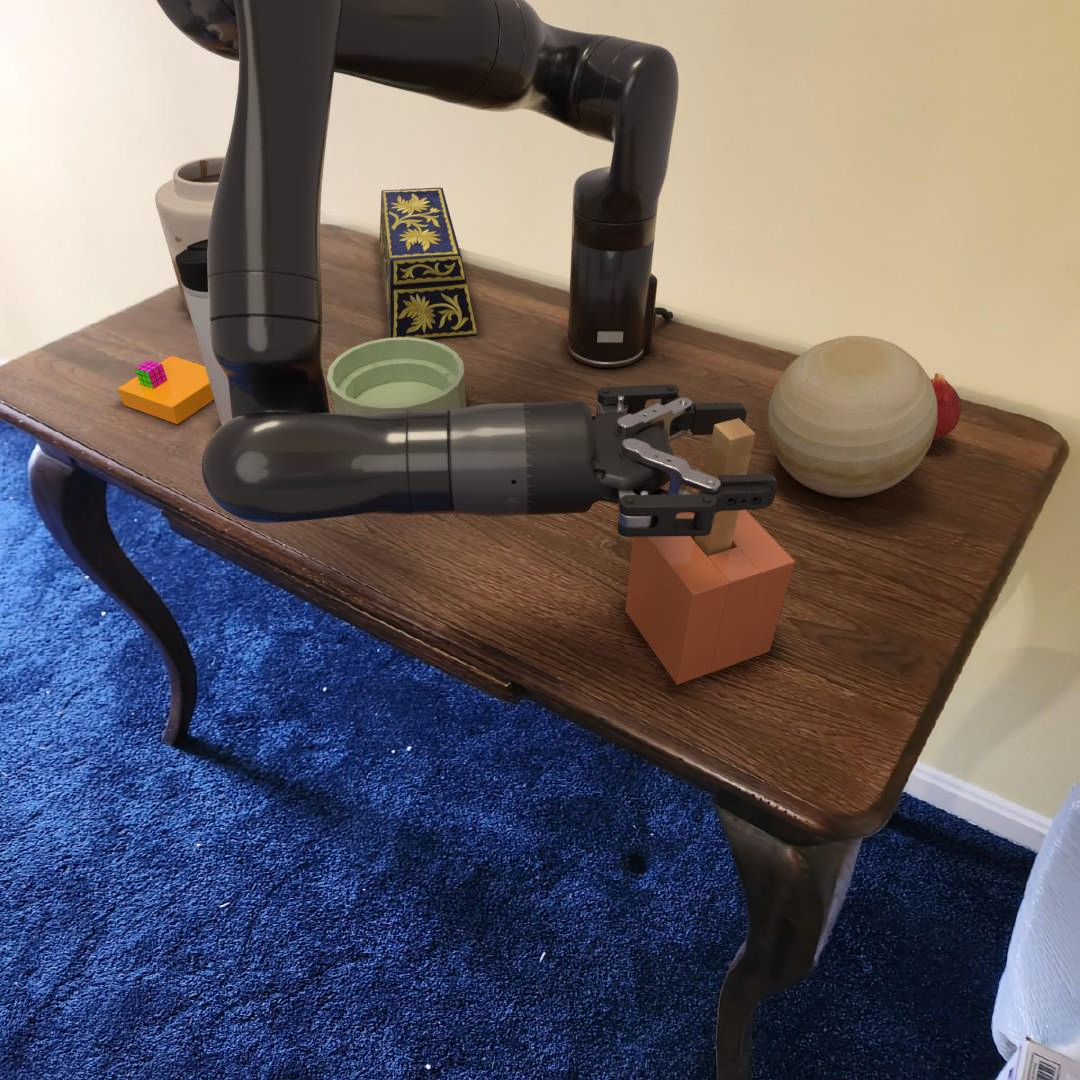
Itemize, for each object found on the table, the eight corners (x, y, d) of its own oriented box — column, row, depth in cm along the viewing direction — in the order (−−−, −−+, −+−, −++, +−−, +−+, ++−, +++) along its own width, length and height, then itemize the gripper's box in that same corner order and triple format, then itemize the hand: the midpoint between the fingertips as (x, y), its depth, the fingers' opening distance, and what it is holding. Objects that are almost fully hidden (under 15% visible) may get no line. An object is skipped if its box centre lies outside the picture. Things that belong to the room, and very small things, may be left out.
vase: (290, 328, 108) (263, 193, 97) (169, 326, 108) (127, 191, 97) (315, 275, 119) (294, 149, 108) (205, 273, 119) (172, 147, 108)
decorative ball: (943, 504, 83) (1000, 368, 73) (818, 547, 78) (861, 408, 68) (841, 424, 93) (878, 295, 83) (725, 458, 88) (750, 325, 78)
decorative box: (390, 342, 105) (382, 272, 99) (379, 243, 127) (372, 181, 121) (477, 335, 107) (474, 266, 101) (452, 239, 129) (448, 177, 123)
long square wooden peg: (699, 619, 72) (739, 417, 58) (712, 635, 70) (756, 433, 57) (678, 626, 71) (713, 424, 58) (691, 643, 70) (730, 440, 56)
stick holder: (712, 582, 75) (730, 492, 68) (769, 651, 69) (795, 561, 62) (624, 610, 72) (634, 520, 65) (676, 685, 66) (693, 594, 60)
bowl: (442, 370, 101) (438, 327, 97) (485, 434, 91) (483, 389, 87) (321, 395, 96) (313, 352, 93) (353, 465, 87) (346, 420, 83)
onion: (950, 433, 92) (976, 367, 87) (944, 462, 88) (971, 395, 83) (894, 420, 94) (916, 355, 88) (886, 448, 90) (908, 381, 85)
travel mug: (271, 446, 89) (226, 261, 76) (212, 438, 90) (158, 254, 77) (296, 413, 94) (257, 233, 80) (239, 406, 95) (192, 226, 81)
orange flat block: (177, 372, 100) (166, 339, 97) (229, 389, 97) (220, 356, 94) (123, 405, 95) (110, 371, 92) (177, 424, 92) (166, 390, 89)
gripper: (525, 480, 50) (800, 472, 51) (514, 356, 61) (742, 350, 61) (525, 573, 55) (775, 564, 56) (516, 443, 66) (726, 437, 66)
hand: (758, 452), depth 59 cm, fingers open, 8 cm apart
